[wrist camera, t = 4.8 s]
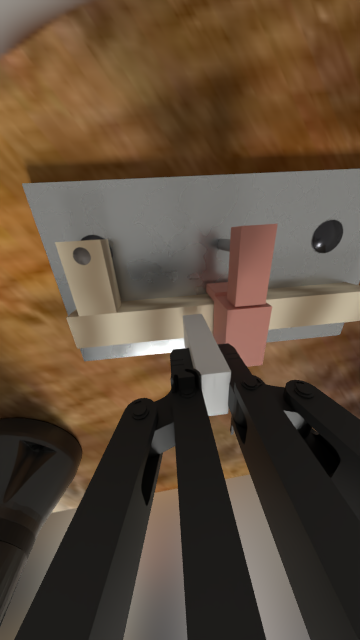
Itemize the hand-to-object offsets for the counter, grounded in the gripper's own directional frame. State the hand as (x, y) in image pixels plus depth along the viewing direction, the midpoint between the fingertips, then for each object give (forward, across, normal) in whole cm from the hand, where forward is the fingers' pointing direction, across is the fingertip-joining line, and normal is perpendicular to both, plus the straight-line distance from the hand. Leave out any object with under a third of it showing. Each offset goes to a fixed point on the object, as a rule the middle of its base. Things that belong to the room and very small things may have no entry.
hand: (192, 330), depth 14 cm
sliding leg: (+4, +4, +2) cm, 6 cm away
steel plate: (+6, +4, +3) cm, 7 cm away
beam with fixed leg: (+5, +3, +3) cm, 6 cm away
